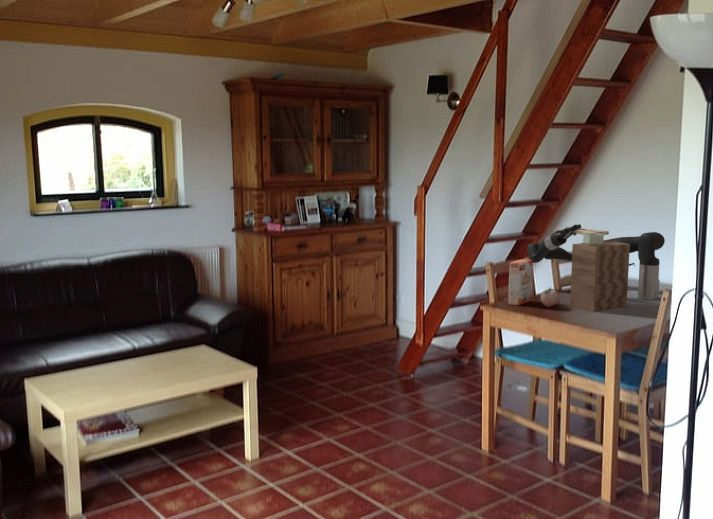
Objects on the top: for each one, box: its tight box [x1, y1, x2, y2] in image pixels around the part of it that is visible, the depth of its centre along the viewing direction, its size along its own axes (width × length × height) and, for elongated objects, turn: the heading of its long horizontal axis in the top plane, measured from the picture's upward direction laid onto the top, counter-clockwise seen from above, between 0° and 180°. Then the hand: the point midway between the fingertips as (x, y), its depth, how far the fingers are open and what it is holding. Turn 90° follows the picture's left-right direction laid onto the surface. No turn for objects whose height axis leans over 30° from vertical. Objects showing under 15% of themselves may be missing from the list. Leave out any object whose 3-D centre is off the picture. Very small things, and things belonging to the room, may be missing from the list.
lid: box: [565, 226, 610, 236], centre depth 359 cm, size 10×22×2 cm, turn 31°
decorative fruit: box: [539, 286, 560, 309], centre depth 344 cm, size 9×8×10 cm
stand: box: [569, 241, 630, 313], centre depth 345 cm, size 23×14×30 cm, turn 121°
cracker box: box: [507, 258, 533, 307], centre depth 354 cm, size 14×6×21 cm, turn 143°
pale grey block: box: [582, 233, 605, 246], centre depth 340 cm, size 9×9×5 cm
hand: (578, 226), depth 361 cm, fingers closed on lid, 2 cm apart
